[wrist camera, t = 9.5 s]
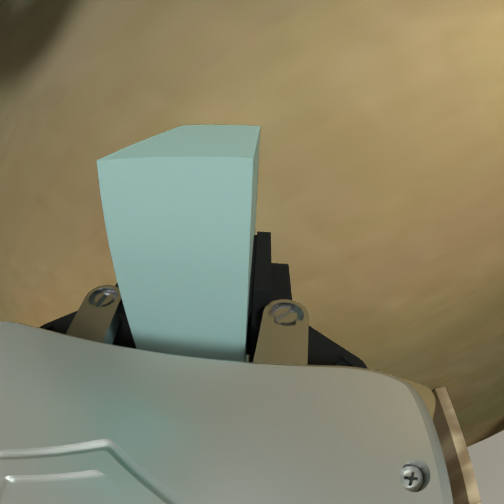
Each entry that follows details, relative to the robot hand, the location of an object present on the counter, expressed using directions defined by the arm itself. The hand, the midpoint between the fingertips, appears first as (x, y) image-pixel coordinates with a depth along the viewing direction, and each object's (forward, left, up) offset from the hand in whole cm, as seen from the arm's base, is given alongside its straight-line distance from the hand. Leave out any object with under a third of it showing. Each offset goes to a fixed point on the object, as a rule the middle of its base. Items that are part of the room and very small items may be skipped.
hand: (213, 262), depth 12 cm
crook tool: (-3, +6, -2) cm, 7 cm away
